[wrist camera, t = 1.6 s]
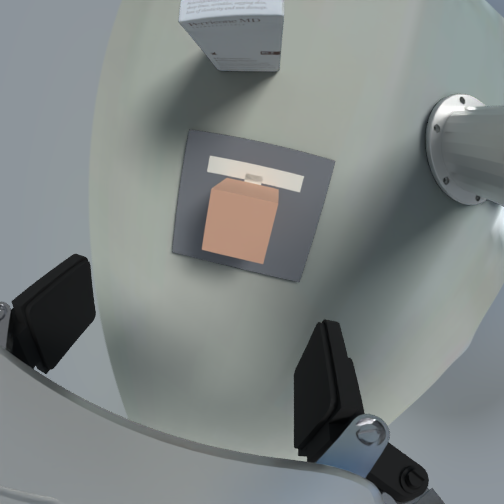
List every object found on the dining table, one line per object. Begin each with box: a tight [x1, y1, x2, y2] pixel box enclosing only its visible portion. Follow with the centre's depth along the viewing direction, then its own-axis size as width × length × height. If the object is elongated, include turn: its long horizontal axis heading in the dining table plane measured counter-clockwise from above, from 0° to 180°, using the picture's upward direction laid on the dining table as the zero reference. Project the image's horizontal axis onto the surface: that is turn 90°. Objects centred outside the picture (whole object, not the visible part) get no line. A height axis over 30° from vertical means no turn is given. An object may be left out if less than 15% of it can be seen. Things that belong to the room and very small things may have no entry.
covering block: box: [202, 178, 279, 264], centre depth 23 cm, size 5×5×6 cm
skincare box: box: [178, 0, 284, 72], centre depth 15 cm, size 6×4×12 cm
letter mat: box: [172, 130, 335, 282], centre depth 26 cm, size 14×13×1 cm
